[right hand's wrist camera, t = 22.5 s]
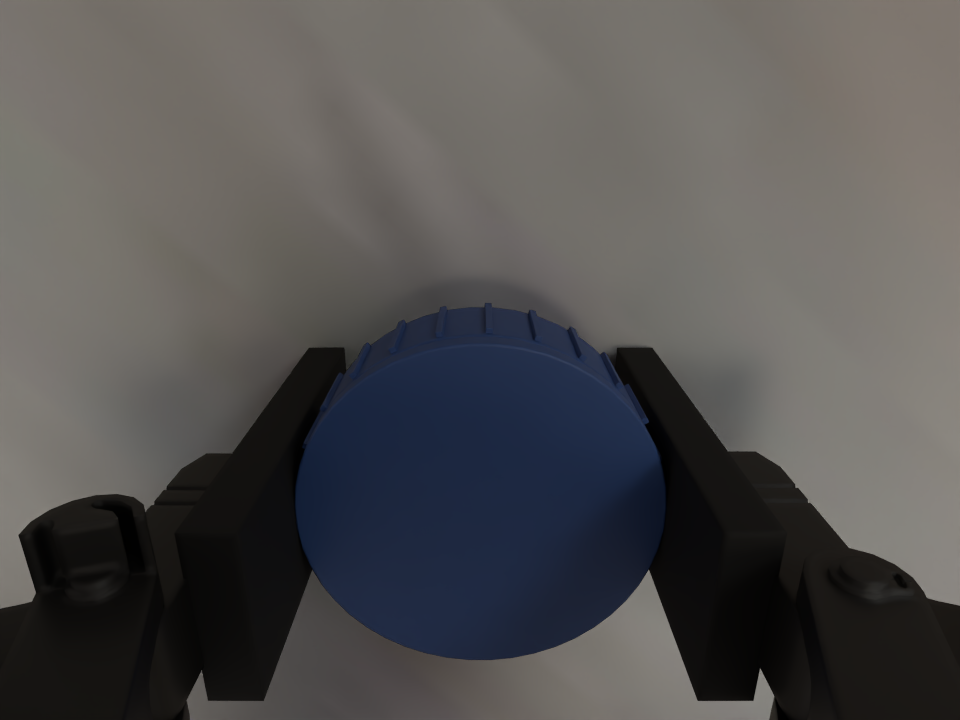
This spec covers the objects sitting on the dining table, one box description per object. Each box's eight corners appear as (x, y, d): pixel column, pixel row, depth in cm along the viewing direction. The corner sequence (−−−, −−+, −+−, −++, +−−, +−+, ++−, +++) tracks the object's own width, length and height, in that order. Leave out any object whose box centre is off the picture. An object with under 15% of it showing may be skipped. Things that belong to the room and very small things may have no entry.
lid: (700, 496, 12) (737, 562, 11) (439, 634, 14) (434, 713, 12) (532, 232, 11) (544, 257, 9) (249, 417, 12) (208, 472, 10)
